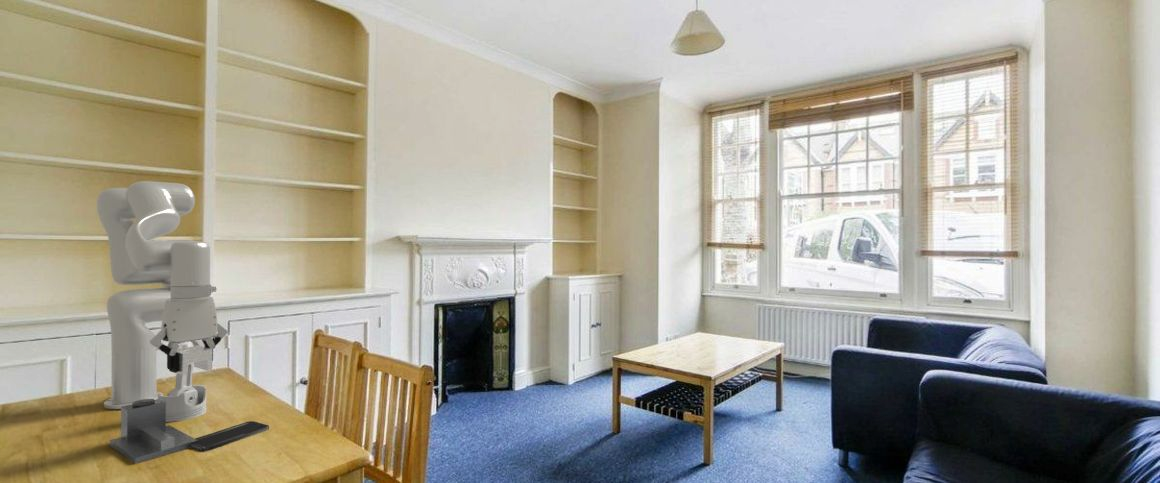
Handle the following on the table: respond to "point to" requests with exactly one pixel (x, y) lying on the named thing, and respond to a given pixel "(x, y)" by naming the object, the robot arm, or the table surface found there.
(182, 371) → the block
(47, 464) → the table surface
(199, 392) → the engine component
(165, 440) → the coupler
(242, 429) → the phone
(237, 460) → the table surface
